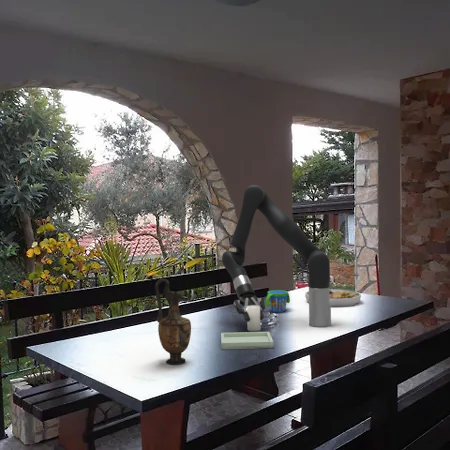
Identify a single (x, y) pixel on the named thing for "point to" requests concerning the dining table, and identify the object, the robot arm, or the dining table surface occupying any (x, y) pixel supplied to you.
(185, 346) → the vase
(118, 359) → the dining table surface
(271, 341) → the tray
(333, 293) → the plate of food
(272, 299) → the snack cup
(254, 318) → the white upright cylinder
